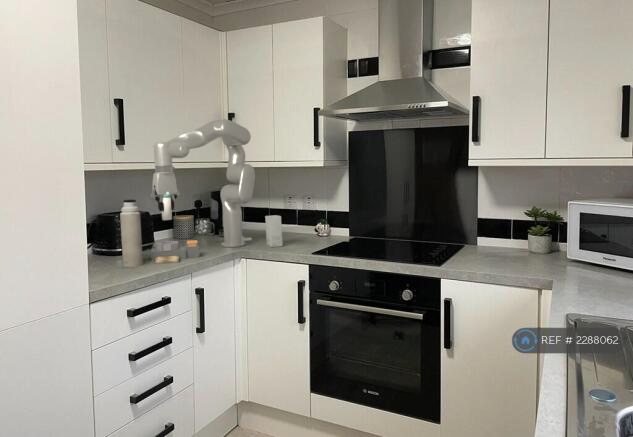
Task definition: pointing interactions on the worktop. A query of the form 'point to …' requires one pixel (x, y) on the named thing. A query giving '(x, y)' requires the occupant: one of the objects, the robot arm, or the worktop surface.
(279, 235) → the skincare box
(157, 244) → the housing
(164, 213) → the cylinder
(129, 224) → the thermos bottle
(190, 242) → the release button
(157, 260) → the tray
